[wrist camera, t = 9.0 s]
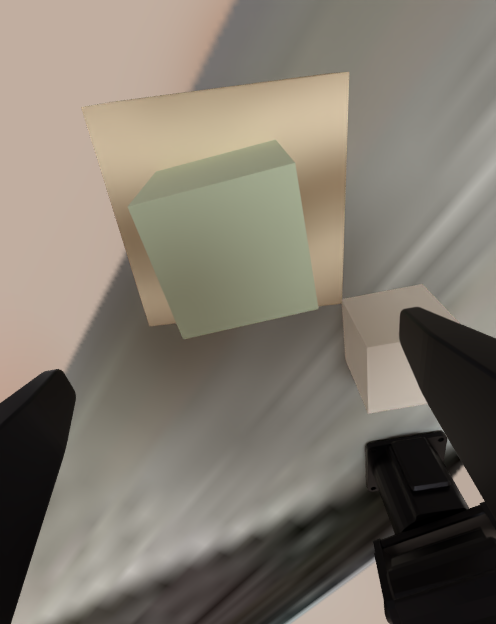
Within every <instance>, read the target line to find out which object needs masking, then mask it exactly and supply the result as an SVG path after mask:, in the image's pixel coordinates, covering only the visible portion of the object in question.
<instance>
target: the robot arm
mask: <svg viewBox="0 0 496 624" xmlns="http://www.w3.org/2000/svg"><path fill="white" fill-rule="evenodd" d="M399 340H400V344H401V346H402V349H403V351H404V353H405V356H406V358H407V360H408V363H409V365H410V367H411V370H412V372H413V374H414V377H415V379H416V381H417V383H418V386H419V388H420V390H421V392H422V394H423V396H424V398H425V400H426V402H427V403H428V405H429V407H430V408H431V410H432V412H433V414H434V415H435V417H436V419H437V420H438V422H439V424H440V426H441V427H442V429H443V431H444V432H445V433H444V432H435V433H429V434H422V435H416V436H410V437H403V438H397V439H391V440H385V441H378V442H372V443H369V444H367V445H366V485H367V488H368V491H371V492H374V491H379V492H380V495H381V497H382V500H383V503H384V505H385V508H386V511H387V514H388V516H389V519H390V522H391V524H392V527H393V530H394V532H395V535H393V536H390V537H387V538H384V539H377V540H374V541H373V543H374V548H375V553H374V555H375V560H376V564H377V569H378V574H379V579H380V584H381V589H382V593H383V598H384V610H385V616H386V619H387V621H388V623H390V624H496V338H493V337H491V336H488V335H486V334H484V333H481V332H479V331H476V330H474V329H472V328H469V327H467V326H464V325H462V324H459V323H457V322H455V321H452V320H450V319H447V318H445V317H442V316H440V315H438V314H435V313H433V312H430V311H428V310H426V309H423V308H421V307H411V308H406V309H403V310H402V311H401V313H400V323H399ZM75 401H76V394H75V391H74V389H73V387H72V385H71V384H70V382H69V380H68V379H67V377H66V375H65V374H64V372H63V371H62V370H59V369H56V370H50V371H45V372H43V373H41V374H40V375H38V376H37V377H36V378H34V379H33V380H32V381H30V382H29V383H28V384H26V385H25V386H23V387H22V388H21V389H19V390H18V391H16V392H15V393H14V394H12V395H11V396H10V397H8V398H7V399H5V400H4V401H3V402H1V403H0V624H11V622H12V618H13V615H14V612H15V609H16V606H17V603H18V599H19V596H20V593H21V590H22V587H23V584H24V580H25V577H26V574H27V571H28V568H29V565H30V561H31V558H32V555H33V552H34V549H35V546H36V542H37V539H38V536H39V533H40V530H41V527H42V523H43V520H44V517H45V514H46V511H47V508H48V504H49V501H50V498H51V495H52V492H53V489H54V485H55V482H56V479H57V476H58V473H59V470H60V466H61V463H62V460H63V457H64V453H65V449H66V445H67V441H68V436H69V431H70V426H71V421H72V416H73V411H74V406H75ZM445 434H446V435H445ZM447 437H448V439H449V441H450V443H451V444H452V446H453V448H454V449H455V451H456V453H457V455H458V456H459V458H460V460H461V461H462V463H463V465H464V467H465V468H466V470H467V472H468V473H469V475H470V477H471V478H472V480H473V482H474V484H475V485H476V487H477V489H478V490H479V492H480V494H481V495H482V497H483V499H484V501H485V502H482V503H480V505H478V506H475V507H473V508H470V509H469V507H468V505H467V503H466V502H465V500H464V498H463V497H462V495H461V493H460V491H459V489H458V488H457V486H456V484H455V482H454V481H453V479H452V477H451V475H450V473H449V472H448V470H447V468H446V466H445V465H444V463H443V462H444V456H445V450H446V444H447Z"/></svg>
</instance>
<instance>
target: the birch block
mask: <svg viewBox="0 0 496 624" xmlns="http://www.w3.org/2000/svg"><path fill="white" fill-rule="evenodd" d="M348 93H349V72H342V73H329V74H321V75H313V76H306V77H298V78H290V79H283V80H275V81H268V82H260V83H252V84H245V85H237V86H230V87H222V88H214V89H207V90H199V91H192V92H183V93H176V94H168V95H160V96H153V97H145V98H138V99H130V100H123V101H116V102H109V103H103V104H97V105H91V106H85V107H81V108H82V112H83V115H84V118H85V121H86V125H87V128H88V131H89V134H90V137H91V141H92V144H93V147H94V150H95V153H96V156H97V160H98V163H99V166H100V169H101V173H102V176H103V179H104V182H105V185H106V189H107V192H108V195H109V198H110V201H111V205H112V208H113V211H114V214H115V217H116V221H117V224H118V227H119V230H120V233H121V236H122V240H123V243H124V246H125V249H126V253H127V256H128V259H129V262H130V265H131V269H132V272H133V275H134V278H135V281H136V285H137V288H138V291H139V294H140V297H141V301H142V304H143V307H144V310H145V314H146V317H147V320H148V323H149V326H158V325H166V324H175V323H176V321H175V319H174V316H173V314H172V312H171V309H170V307H169V305H168V302H167V300H166V297H165V295H164V293H163V290H162V288H161V285H160V283H159V281H158V278H157V276H156V274H155V271H154V269H153V266H152V264H151V262H150V259H149V257H148V255H147V252H146V250H145V247H144V245H143V243H142V240H141V238H140V235H139V233H138V231H137V228H136V226H135V224H134V221H133V219H132V216H131V214H130V212H129V209H128V205H129V204H130V203H131V202H132V200H133V199H134V198H135V197H136V196H137V194H138V193H139V192H140V191H141V189H142V188H143V187H144V186H145V184H146V183H147V182H148V181H149V180H150V178H151V177H152V176H153V175H154V173H155V172H156V171H160V170H164V169H167V168H171V167H175V166H179V165H182V164H186V163H190V162H194V161H197V160H201V159H205V158H208V157H212V156H216V155H220V154H223V153H227V152H231V151H235V150H238V149H242V148H246V147H249V146H253V145H257V144H261V143H264V142H268V141H272V140H276V141H277V142H278V143H279V144H280V145H281V147H282V148H283V149H284V150H285V151H286V153H287V154H288V155H289V156H290V157H291V158H292V160H293V161H294V162H295V165H296V171H297V177H298V184H299V190H300V196H301V202H302V209H303V215H304V221H305V227H306V234H307V240H308V246H309V252H310V259H311V265H312V271H313V277H314V284H315V290H316V296H317V302H318V306H325V305H333V304H342V282H343V250H344V219H345V187H346V156H347V124H348Z"/></svg>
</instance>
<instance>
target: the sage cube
mask: <svg viewBox="0 0 496 624" xmlns="http://www.w3.org/2000/svg"><path fill="white" fill-rule="evenodd" d="M128 209H129V212H130V214H131V216H132V219H133V221H134V224H135V226H136V228H137V231H138V233H139V235H140V238H141V240H142V243H143V245H144V247H145V250H146V252H147V255H148V257H149V259H150V262H151V264H152V266H153V269H154V271H155V274H156V276H157V278H158V281H159V283H160V285H161V288H162V290H163V293H164V295H165V297H166V300H167V302H168V305H169V307H170V309H171V312H172V314H173V316H174V319H175V321H176V324H177V326H178V328H179V331H180V333H181V336H182V338H183V339H188V338H192V337H197V336H201V335H206V334H210V333H215V332H219V331H223V330H228V329H232V328H237V327H241V326H246V325H250V324H254V323H259V322H263V321H268V320H272V319H277V318H281V317H286V316H290V315H294V314H299V313H303V312H308V311H312V310H317V309H318V302H317V296H316V290H315V284H314V277H313V271H312V265H311V259H310V252H309V246H308V240H307V234H306V227H305V221H304V215H303V209H302V202H301V196H300V190H299V184H298V177H297V171H296V165H295V162H294V161H293V160H292V158H291V157H290V156H289V155H288V154H287V153H286V151H285V150H284V149H283V148H282V147H281V145H280V144H279V143H278V142H277V141H276V140H272V141H268V142H264V143H261V144H257V145H253V146H249V147H246V148H242V149H238V150H235V151H231V152H227V153H223V154H220V155H216V156H212V157H208V158H205V159H201V160H197V161H194V162H190V163H186V164H182V165H179V166H175V167H171V168H167V169H164V170H160V171H156V172H155V173H154V175H153V176H152V177H151V178H150V180H149V181H148V182H147V183H146V184H145V186H144V187H143V188H142V189H141V191H140V192H139V193H138V194H137V196H136V197H135V198H134V199H133V200H132V202H131V203H130V204H129V205H128Z"/></svg>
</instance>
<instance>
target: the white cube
mask: <svg viewBox="0 0 496 624" xmlns="http://www.w3.org/2000/svg"><path fill="white" fill-rule="evenodd" d="M411 307H421V308H423V309H426V310H428V311H430V312H433V313H435V314H438V315H440V316H442V317H445V318H447V319H450V320H452V321H455V322H457V323H459V322H458V321H457V320H456V319H455V318H454V317H453V316H452V315H451V313H450V312H449V311H448V310H447V309H446V308H445V307H444V306H443V305H442V304H441V303H440V302H439V301H438V300H437V299H436V298H435V297H434V296H433V295H432V294H431V293H430V292H429V290H428V289H427V288H426V287H425V286H424V285H423V284H419V285H414V286H409V287H403V288H398V289H393V290H387V291H382V292H377V293H371V294H366V295H361V296H355V297H350V298H345V299H342V314H343V330H344V346H345V360H346V362H347V365H348V367H349V369H350V372H351V374H352V376H353V379H354V381H355V384H356V386H357V388H358V391H359V393H360V395H361V398H362V400H363V403H364V405H365V407H366V410H367V412H368V414H369V413H375V412H381V411H387V410H393V409H399V408H405V407H411V406H417V405H423V404H428V403H427V402H426V400H425V398H424V396H423V394H422V392H421V390H420V388H419V386H418V383H417V381H416V379H415V377H414V374H413V372H412V370H411V367H410V365H409V363H408V360H407V358H406V356H405V353H404V351H403V349H402V346H401V344H400V340H399V323H400V313H401V311H402V310H403V309H406V308H411ZM459 324H460V323H459Z"/></svg>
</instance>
